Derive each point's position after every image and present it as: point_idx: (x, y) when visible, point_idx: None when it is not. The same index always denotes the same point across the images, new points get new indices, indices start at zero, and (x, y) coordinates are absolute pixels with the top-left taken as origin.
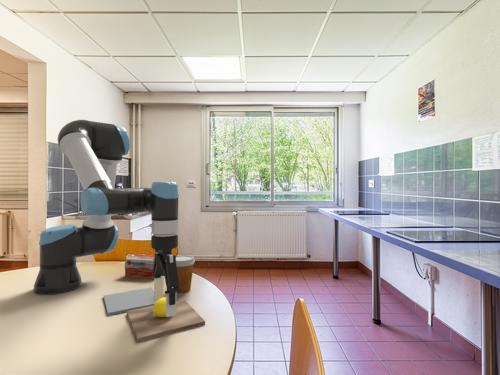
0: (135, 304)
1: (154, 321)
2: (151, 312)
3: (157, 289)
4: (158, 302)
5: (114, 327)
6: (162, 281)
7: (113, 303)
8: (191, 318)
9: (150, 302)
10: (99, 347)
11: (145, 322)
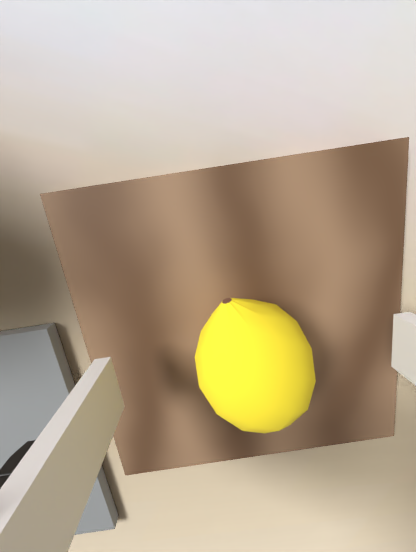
0: None
1: None
2: (179, 385)
3: (92, 454)
4: (285, 425)
5: (231, 489)
6: (36, 492)
7: None
8: (340, 207)
9: (37, 382)
10: (350, 512)
11: None
